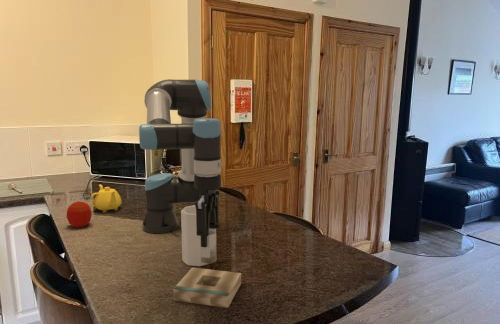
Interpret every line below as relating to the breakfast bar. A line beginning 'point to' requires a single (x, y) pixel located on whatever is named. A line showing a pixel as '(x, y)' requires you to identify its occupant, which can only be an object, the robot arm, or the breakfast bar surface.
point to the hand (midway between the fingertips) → (208, 252)
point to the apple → (79, 214)
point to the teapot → (106, 199)
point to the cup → (190, 237)
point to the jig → (208, 287)
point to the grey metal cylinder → (211, 249)
